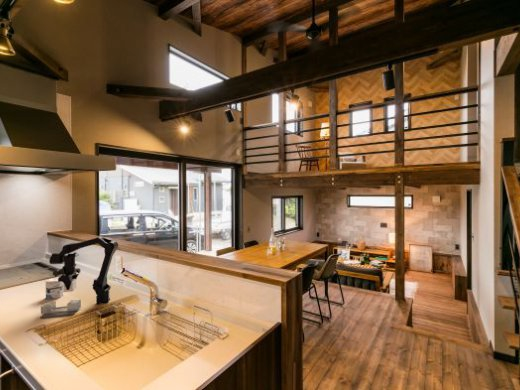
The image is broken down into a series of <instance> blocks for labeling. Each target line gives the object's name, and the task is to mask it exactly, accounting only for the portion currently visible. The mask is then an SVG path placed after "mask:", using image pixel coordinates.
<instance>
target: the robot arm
mask: <svg viewBox="0 0 520 390" xmlns="http://www.w3.org/2000/svg"><path fill="white" fill-rule="evenodd" d="M96 244H97V245H99V246H100V247H101V248H103V249H104V257H103V260H102V264H101V267H100V271H99V274H98V276H97V277H95V278H94V279H93V283H92V285H91V286H92V289H93V291H94V292H95V295H96V296H95V297H96V299H95V301H96V305H102V303H103V304H109V302H110V300H111V298H110V290H111V288H112V286H111V285H110V284H108V273H109V270H110V267H111V263H112V259H113V256H114V255H115V253H116V252H117V250H118V247H119V242H117V241H116V240H112V239H111V238H110V239H109V238H107V237H104V236H102V235H100V236H96V237H94V238H91V239H87V240H83V241H81V242H77V241H76V242H71V243H67V244H64V245H63V246H62V249H61V251H60V252H59V253H57V252H54V253H51V256H50V257H49V260H48V261H49V264H50V265H61V264H63V266H62V268H59V269H55V270H53V272H52V276H53V277H54V278H56V277H58V276H59V277H58V278H57V279H58V282H63V283H64V284H65V287H66V289H67V290H69V289H70V286H71V283H72V280H73V279H76V280H77V279H78V277H79V275H80V273H81V269H80V268H78V267H77V268H76V266H77V263H76V257H78V256H79V255H80V254H78V253H77V252H76V251H78V250H80V249H82V248H86V247H90V246H93V245H96ZM60 275H61V276H60Z"/></svg>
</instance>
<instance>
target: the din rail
mask: <svg viewBox="0 0 520 390" xmlns="http://www.w3.org/2000/svg"><path fill="white" fill-rule="evenodd" d="M81 300H82V299H80V298H79V299H71V300H70V301H69V302H68V303H67V304H66V306H60V307H59V306H58V307H57V303H56V301H48V302H45V303H43V304H42V305H41V306H40V315H41V316H40V319H41V320H43V319H50V318H59V317H66V316H67V317H68V316H69V317H70V316H74V315H75V313H77V312H78V310H79V309H80V308H82V307H81V306H82V301H81Z"/></svg>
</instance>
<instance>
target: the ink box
mask: <svg viewBox="0 0 520 390" xmlns="http://www.w3.org/2000/svg"><path fill="white" fill-rule="evenodd" d="M63 296H64V292H63V282H58V278H50V279H48V280H45V300H49V299H51V300H52V299H60V298H62V297H63Z"/></svg>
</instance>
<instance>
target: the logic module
mask: <svg viewBox="0 0 520 390" xmlns="http://www.w3.org/2000/svg"><path fill="white" fill-rule="evenodd" d="M76 289H77V279H73V280H72V283H71V286H70V289H69V290H67V289H66V287H65V284H64V283H63V293H71V292H74V291H75V290H76Z"/></svg>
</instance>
